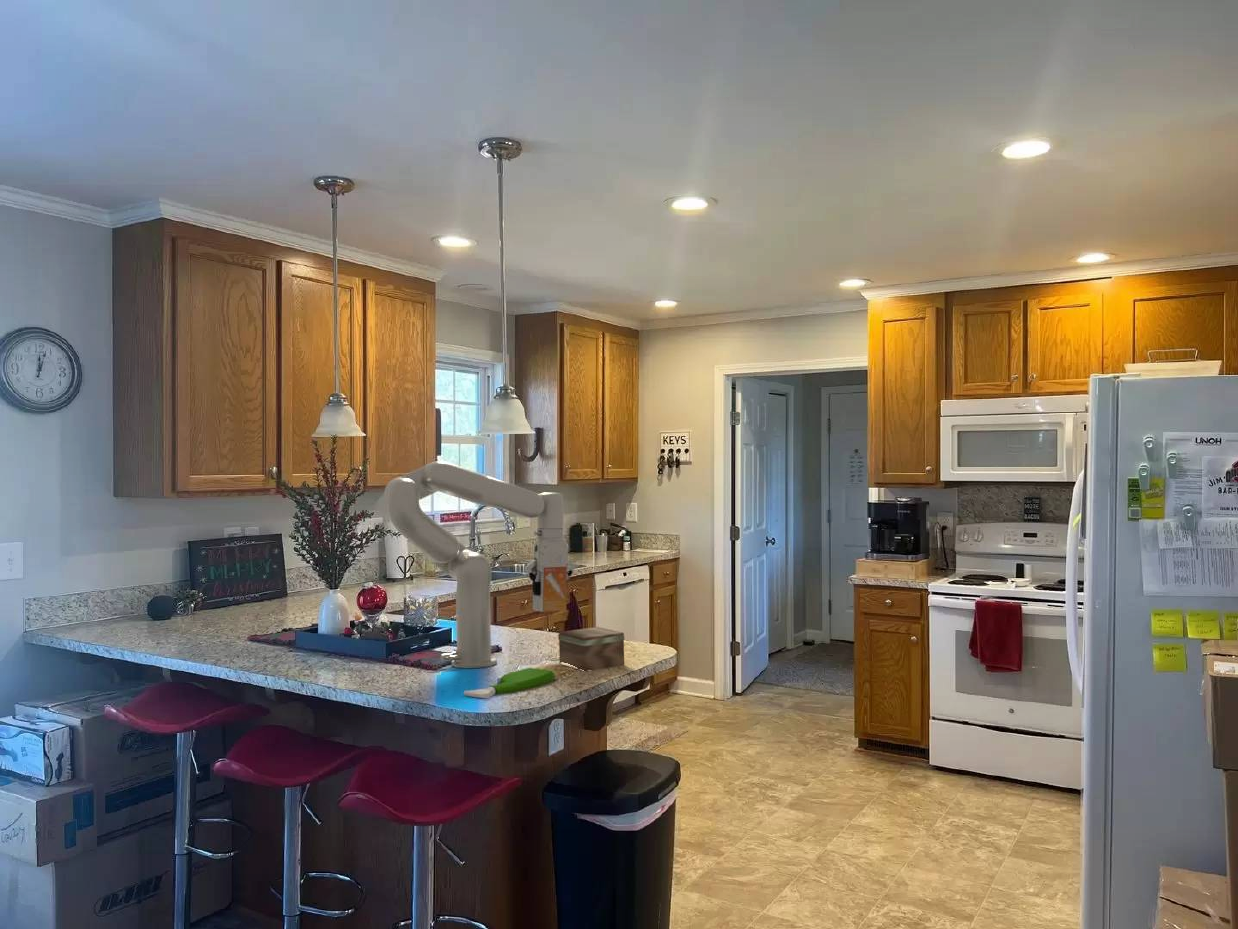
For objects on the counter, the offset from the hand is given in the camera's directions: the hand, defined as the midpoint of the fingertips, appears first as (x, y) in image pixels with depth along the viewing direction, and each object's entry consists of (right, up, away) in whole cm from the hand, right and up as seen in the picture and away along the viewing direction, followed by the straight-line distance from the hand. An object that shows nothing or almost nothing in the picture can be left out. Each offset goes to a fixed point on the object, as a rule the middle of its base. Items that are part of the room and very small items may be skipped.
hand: (550, 594), depth 265 cm
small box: (0, -5, 0) cm, 5 cm away
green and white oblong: (-7, -18, -40) cm, 44 cm away
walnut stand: (+13, -18, -13) cm, 26 cm away
